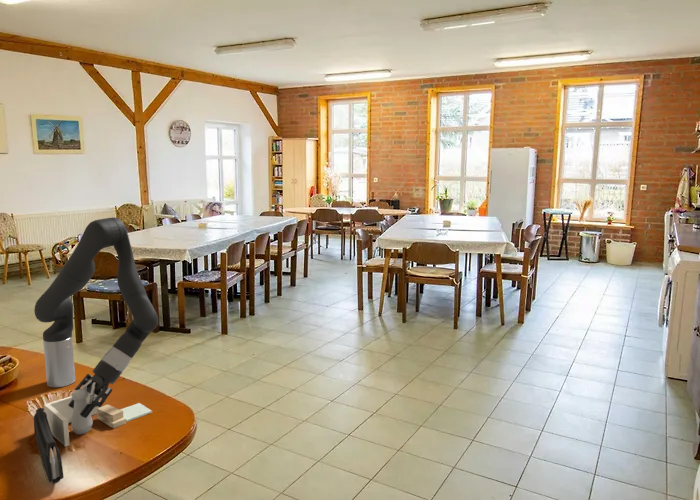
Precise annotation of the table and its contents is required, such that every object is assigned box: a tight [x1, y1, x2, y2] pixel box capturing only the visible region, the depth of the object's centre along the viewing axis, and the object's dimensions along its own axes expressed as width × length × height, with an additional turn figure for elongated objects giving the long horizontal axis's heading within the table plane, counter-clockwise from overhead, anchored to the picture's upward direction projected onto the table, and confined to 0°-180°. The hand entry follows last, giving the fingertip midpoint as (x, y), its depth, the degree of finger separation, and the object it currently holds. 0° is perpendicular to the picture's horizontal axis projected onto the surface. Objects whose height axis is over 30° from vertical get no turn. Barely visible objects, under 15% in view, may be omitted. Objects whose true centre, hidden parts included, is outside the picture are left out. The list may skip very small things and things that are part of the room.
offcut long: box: [96, 414, 127, 429], centre depth 165 cm, size 10×4×2 cm, turn 53°
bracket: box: [43, 394, 101, 448], centre depth 160 cm, size 15×16×8 cm
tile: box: [120, 402, 153, 423], centre depth 170 cm, size 8×8×1 cm
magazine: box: [33, 407, 64, 485], centre depth 142 cm, size 17×3×30 cm
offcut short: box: [96, 403, 123, 422], centre depth 165 cm, size 8×4×2 cm, turn 59°
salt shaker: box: [71, 388, 94, 435], centre depth 158 cm, size 6×6×13 cm
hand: (76, 411), depth 157 cm, fingers open, 8 cm apart
